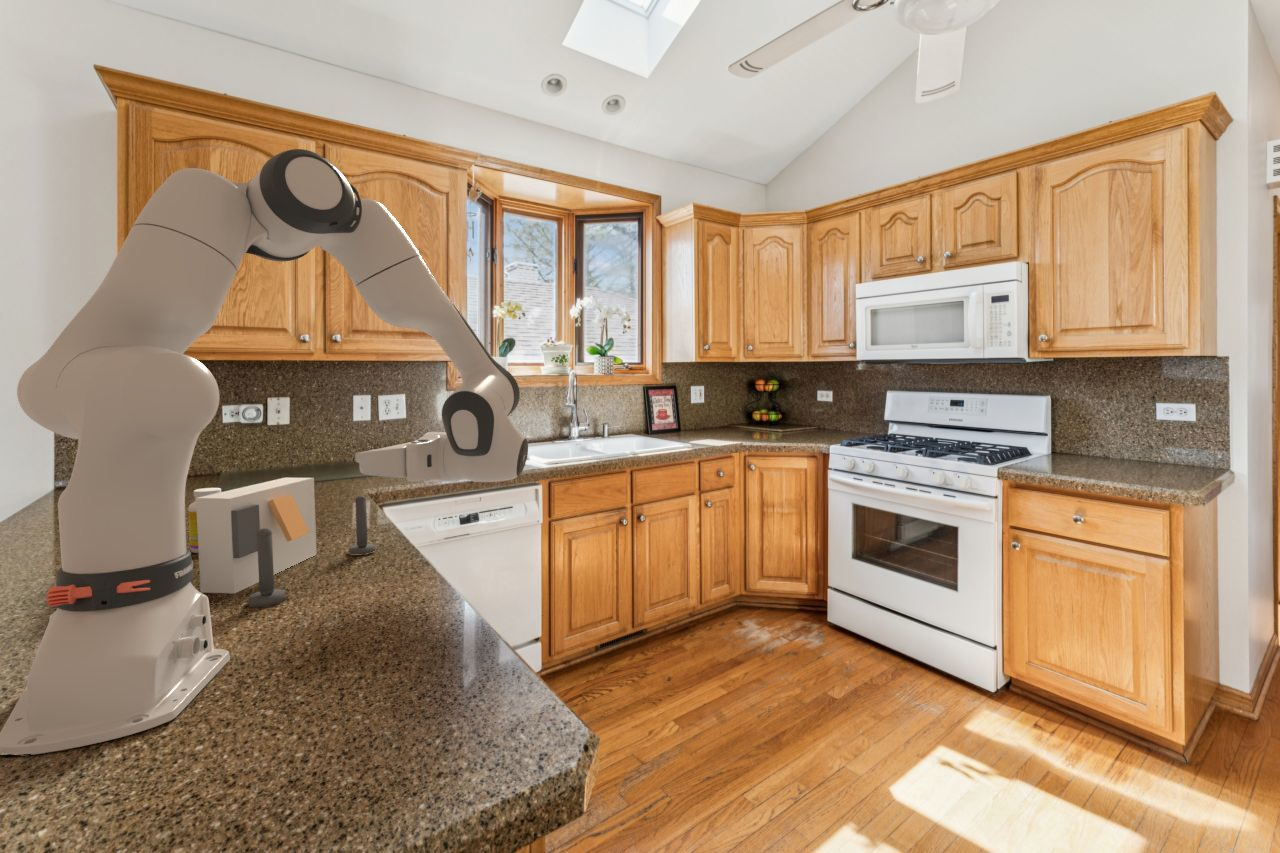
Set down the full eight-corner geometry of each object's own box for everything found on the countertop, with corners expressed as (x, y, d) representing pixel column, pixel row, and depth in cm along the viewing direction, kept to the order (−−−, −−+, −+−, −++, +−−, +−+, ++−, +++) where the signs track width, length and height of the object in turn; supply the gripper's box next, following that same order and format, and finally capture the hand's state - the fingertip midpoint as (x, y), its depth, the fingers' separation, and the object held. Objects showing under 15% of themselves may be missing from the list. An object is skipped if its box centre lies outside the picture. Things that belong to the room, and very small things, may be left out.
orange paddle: (309, 532, 110) (291, 494, 110) (292, 539, 105) (272, 499, 105) (305, 534, 111) (286, 496, 110) (287, 541, 106) (267, 501, 105)
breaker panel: (316, 555, 120) (313, 477, 119) (234, 593, 98) (230, 498, 97) (288, 554, 120) (285, 477, 119) (200, 592, 98) (195, 497, 97)
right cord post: (375, 554, 121) (374, 496, 120) (348, 557, 119) (347, 498, 118) (375, 548, 125) (373, 492, 125) (349, 550, 123) (347, 494, 122)
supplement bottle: (214, 554, 120) (211, 492, 120) (182, 554, 121) (178, 492, 120) (236, 545, 127) (234, 486, 126) (206, 545, 127) (203, 486, 126)
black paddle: (260, 549, 102) (258, 504, 102) (239, 558, 97) (236, 510, 97) (255, 549, 102) (253, 504, 102) (233, 558, 97) (231, 510, 97)
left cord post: (283, 604, 93) (280, 529, 92) (246, 609, 91) (242, 533, 90) (287, 594, 98) (284, 523, 97) (251, 599, 95) (248, 526, 95)
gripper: (459, 434, 115) (390, 433, 116) (410, 444, 95) (328, 444, 96) (459, 466, 116) (391, 465, 117) (411, 483, 95) (330, 482, 96)
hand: (362, 455), depth 106 cm, fingers closed
